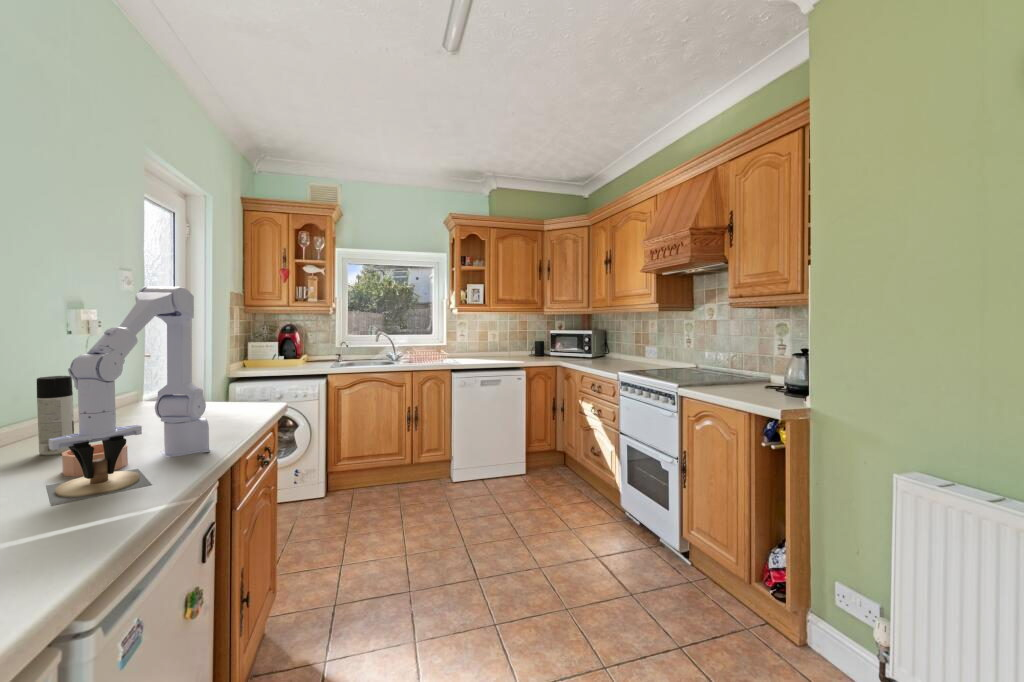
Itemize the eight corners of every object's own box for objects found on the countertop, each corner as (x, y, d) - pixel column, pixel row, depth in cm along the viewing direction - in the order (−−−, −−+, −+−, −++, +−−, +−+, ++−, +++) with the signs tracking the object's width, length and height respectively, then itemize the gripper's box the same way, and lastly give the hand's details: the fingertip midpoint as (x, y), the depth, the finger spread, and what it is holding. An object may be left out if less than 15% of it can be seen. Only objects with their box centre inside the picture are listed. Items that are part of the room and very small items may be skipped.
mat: (138, 471, 106) (138, 468, 106) (152, 487, 96) (152, 484, 96) (46, 488, 94) (46, 485, 94) (51, 508, 85) (51, 505, 84)
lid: (133, 470, 104) (132, 448, 104) (145, 484, 96) (144, 460, 95) (52, 485, 94) (52, 461, 94) (58, 502, 86) (57, 475, 86)
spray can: (80, 450, 121) (78, 376, 121) (48, 457, 115) (45, 379, 114) (65, 447, 124) (63, 374, 123) (32, 454, 117) (29, 377, 116)
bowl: (122, 460, 114) (122, 440, 113) (131, 470, 106) (130, 449, 106) (61, 470, 105) (60, 449, 105) (65, 482, 98) (64, 459, 98)
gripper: (130, 403, 103) (131, 462, 103) (41, 415, 90) (43, 482, 90) (145, 406, 99) (147, 467, 100) (56, 419, 87) (58, 489, 87)
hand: (99, 475), depth 95 cm, fingers closed on lid, 3 cm apart
